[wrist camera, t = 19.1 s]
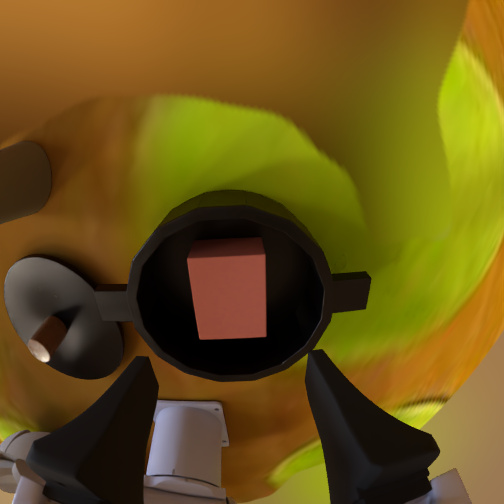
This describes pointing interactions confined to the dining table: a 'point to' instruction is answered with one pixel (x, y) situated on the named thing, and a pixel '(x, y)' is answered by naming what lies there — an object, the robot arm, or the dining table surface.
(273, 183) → the dining table surface
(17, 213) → the cork
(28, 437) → the decorative bowl
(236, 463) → the dining table surface
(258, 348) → the pan
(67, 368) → the pan lid
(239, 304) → the reddish pink block
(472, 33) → the dining table surface
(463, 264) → the dining table surface
